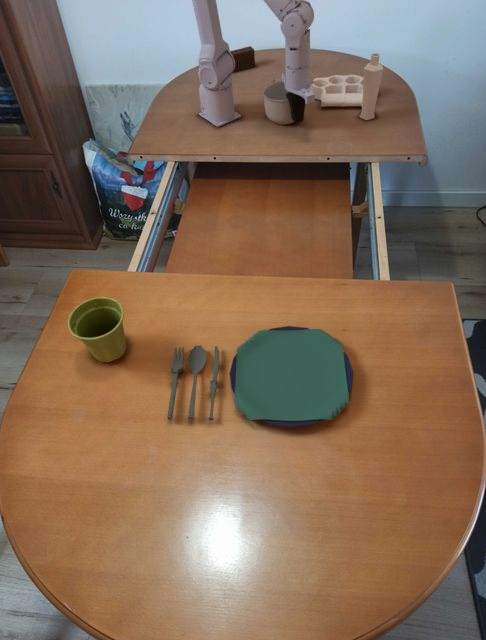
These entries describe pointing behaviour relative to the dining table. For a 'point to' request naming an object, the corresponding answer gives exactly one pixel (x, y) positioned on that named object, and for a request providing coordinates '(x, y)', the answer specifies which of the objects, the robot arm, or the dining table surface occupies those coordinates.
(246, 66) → the block
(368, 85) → the perfume bottle
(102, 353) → the plant pot
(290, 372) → the cutlery set
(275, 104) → the teacup
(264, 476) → the dining table surface
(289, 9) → the robot arm
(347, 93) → the white multi-hole holder
